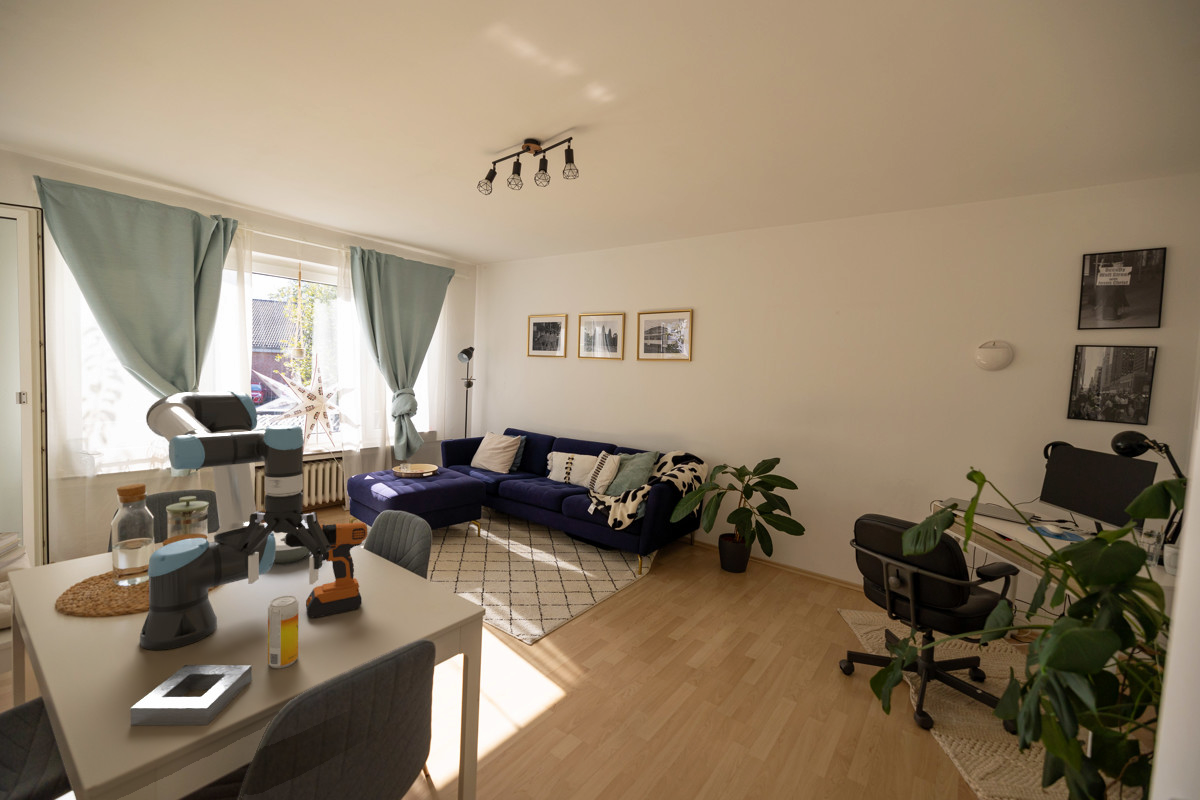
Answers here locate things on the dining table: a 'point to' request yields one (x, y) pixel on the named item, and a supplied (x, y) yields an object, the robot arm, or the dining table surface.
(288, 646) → the beer can
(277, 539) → the bowl
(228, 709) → the dining table surface
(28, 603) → the dining table surface
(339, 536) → the power drill
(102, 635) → the dining table surface
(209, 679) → the collar
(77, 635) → the dining table surface
